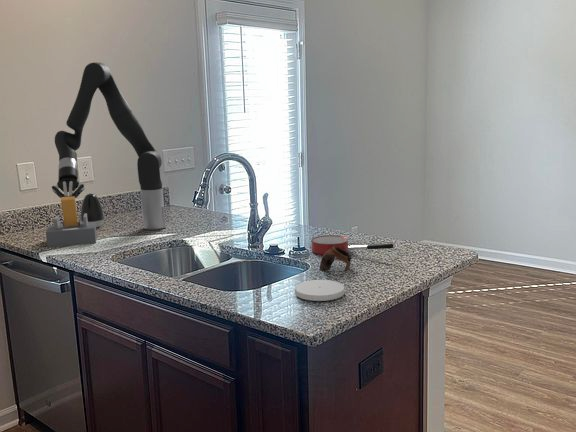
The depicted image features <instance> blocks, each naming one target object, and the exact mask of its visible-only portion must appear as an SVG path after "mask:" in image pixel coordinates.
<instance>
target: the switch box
mask: <svg viewBox="0 0 576 432" xmlns="http://www.w3.org/2000/svg"><path fill="white" fill-rule="evenodd" d="M83 220H84V223H82V222H80V225H76V226H64V227H63V223H62V224H61V223H60V217H59V215H55V216H54V219H53V223H54V224H51V225H50V224H49V225H48V228H47V230H45V236H46V246H47V248H53V247H55V248H56V247H65V246H66V247H67V246H76V245H77V246H78V245H87V244H96V242H97V237H98V235H97V234H98V233H97V228H96V222H88V220H87V213H86V214H84V216H83Z"/></svg>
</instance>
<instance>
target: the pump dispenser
mask: <svg viewBox="0 0 576 432" xmlns="http://www.w3.org/2000/svg"><path fill="white" fill-rule="evenodd" d="M104 212H105V211H104V210H103V206H102V204H101V201H100V199H99V197H98V196H97V194H96V193H88V194H86V195H85V196H84V197H83V200H82V203H81V208H80V222H81V223H84V220H83V216H84V214H86V213H87V220H88V222H96V229H98V228H100V227H101V226H103V224H104V221H105V213H104Z"/></svg>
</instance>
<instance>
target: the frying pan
mask: <svg viewBox="0 0 576 432" xmlns="http://www.w3.org/2000/svg"><path fill="white" fill-rule="evenodd" d="M332 247H338V248H340V249H342V250H344V251H345V252H347V253H348V251H349V250H365V249H366V250H380V249H381V250H385V249H386V250H387V249H390V250H391V249H393V248H394V244H393V243H381V244H380V243H379V244H367V245H350V246H349V239H348V237H345V236H341V235H334V234H333V235H330V234H329V235H320V236H315V237H313V238H312V239H311V252H312V253H313V252H314V253H313V254H315V253H316V255H318V254H320V255H319V256H323V255H324V253H325V252H326V251H328V250H330V249H332Z"/></svg>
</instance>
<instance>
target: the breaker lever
mask: <svg viewBox="0 0 576 432" xmlns="http://www.w3.org/2000/svg"><path fill="white" fill-rule="evenodd" d="M60 205H61V211H62V217H63V221H62V224H63V227H64V226H76V225H80V223H81V219H80V220H79V218H78V211H77V205H76V198H75V196H71V197H61V198H60Z"/></svg>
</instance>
